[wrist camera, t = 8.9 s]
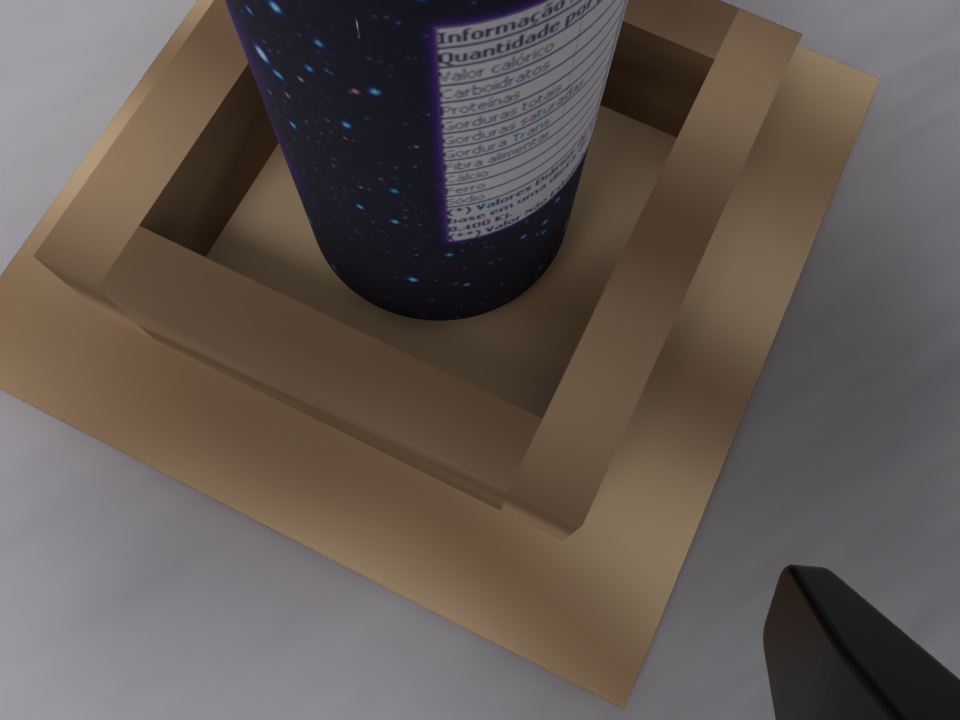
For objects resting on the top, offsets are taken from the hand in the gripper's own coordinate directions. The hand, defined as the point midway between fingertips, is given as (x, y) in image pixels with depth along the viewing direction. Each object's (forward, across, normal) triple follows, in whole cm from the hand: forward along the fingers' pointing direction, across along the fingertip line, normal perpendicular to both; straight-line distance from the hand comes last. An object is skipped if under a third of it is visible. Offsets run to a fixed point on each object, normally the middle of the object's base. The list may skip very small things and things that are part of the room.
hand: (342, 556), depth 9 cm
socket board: (+13, 0, 0) cm, 13 cm away
